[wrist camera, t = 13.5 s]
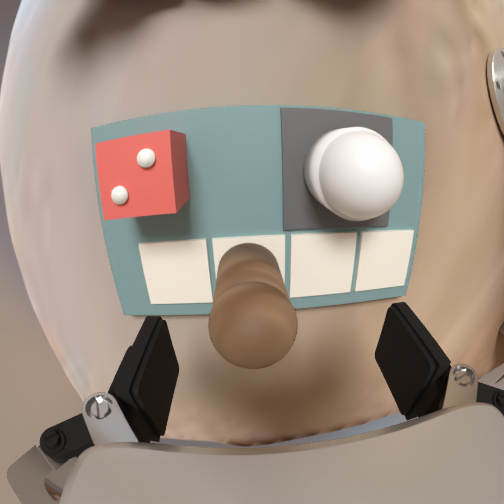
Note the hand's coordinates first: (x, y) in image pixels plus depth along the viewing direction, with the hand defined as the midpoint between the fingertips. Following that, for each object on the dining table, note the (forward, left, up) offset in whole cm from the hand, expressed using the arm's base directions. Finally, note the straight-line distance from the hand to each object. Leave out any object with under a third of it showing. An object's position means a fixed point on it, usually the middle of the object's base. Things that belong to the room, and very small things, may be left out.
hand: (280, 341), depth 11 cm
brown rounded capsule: (+1, +1, -8) cm, 8 cm away
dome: (-5, -6, -7) cm, 11 cm away
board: (-1, -3, -9) cm, 10 cm away
